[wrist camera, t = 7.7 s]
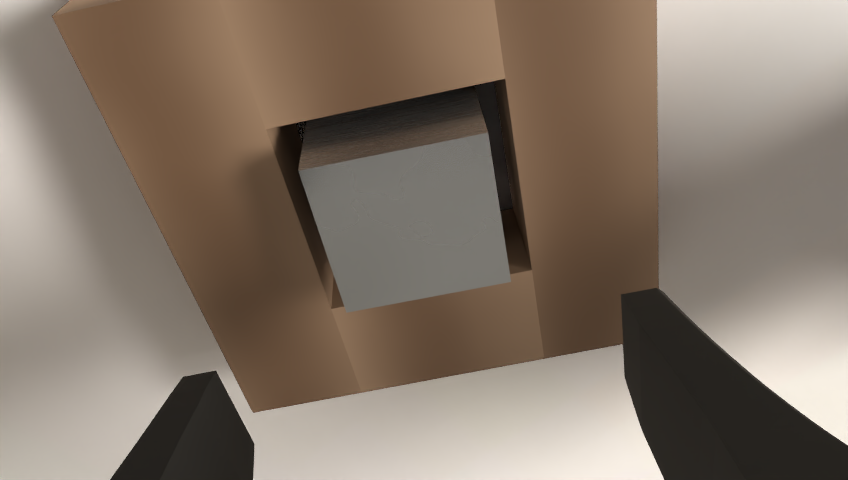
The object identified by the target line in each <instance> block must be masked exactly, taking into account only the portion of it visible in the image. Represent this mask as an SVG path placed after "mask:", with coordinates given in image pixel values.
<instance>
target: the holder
mask: <svg viewBox="0 0 848 480" xmlns="http://www.w3.org/2000/svg"><path fill="white" fill-rule="evenodd" d="M52 17H53V19H54V21H55V23H56V25H57V27H58V29H59V31H60V33H61V35H62V37H63V39H64V41H65V43H66V45H67V47H68V49H69V51H70V53H71V55H72V57H73V59H74V61H75V63H76V65H77V67H78V69H79V71H80V73H81V74H82V76H83V78H84V80H85V82H86V84H87V86H88V88H89V90H90V92H91V94H92V96H93V98H94V100H95V102H96V104H97V106H98V108H99V110H100V112H101V114H102V116H103V118H104V120H105V122H106V124H107V126H108V128H109V130H110V132H111V134H112V136H113V138H114V140H115V142H116V144H117V146H118V147H119V149H120V151H121V153H122V155H123V157H124V159H125V161H126V163H127V165H128V167H129V169H130V171H131V173H132V175H133V177H134V179H135V181H136V183H137V185H138V187H139V189H140V191H141V193H142V195H143V197H144V199H145V201H146V203H147V205H148V207H149V209H150V211H151V213H152V215H153V217H154V218H155V220H156V222H157V224H158V226H159V228H160V230H161V232H162V234H163V236H164V238H165V240H166V242H167V244H168V246H169V248H170V250H171V252H172V254H173V256H174V258H175V260H176V262H177V264H178V266H179V268H180V270H181V272H182V274H183V276H184V278H185V280H186V282H187V284H188V286H189V288H190V289H191V291H192V293H193V295H194V297H195V299H196V301H197V303H198V305H199V307H200V309H201V311H202V313H203V315H204V317H205V319H206V321H207V323H208V325H209V327H210V329H211V331H212V333H213V335H214V337H215V339H216V341H217V343H218V345H219V347H220V349H221V351H222V353H223V355H224V357H225V359H226V361H227V362H228V364H229V366H230V368H231V370H232V372H233V374H234V376H235V378H236V380H237V382H238V384H239V386H240V388H241V390H242V392H243V394H244V396H245V398H246V400H247V402H248V404H249V406H250V408H251V410H252V412H253V413H254V412H259V411H265V410H270V409H276V408H281V407H286V406H292V405H297V404H303V403H308V402H313V401H319V400H324V399H329V398H335V397H340V396H346V395H351V394H356V393H362V392H367V391H373V390H378V389H383V388H389V387H394V386H399V385H405V384H410V383H416V382H421V381H426V380H432V379H437V378H442V377H448V376H453V375H459V374H464V373H469V372H475V371H480V370H486V369H491V368H496V367H502V366H507V365H512V364H518V363H523V362H529V361H534V360H539V359H545V358H550V357H555V356H561V355H566V354H572V353H577V352H582V351H588V350H593V349H599V348H604V347H609V346H615V345H620V344H623V330H622V309H621V294H626V293H631V292H637V291H642V290H647V289H653V288H658V289H659V282H658V137H657V0H70V1H69V2H68V3H66V4H65V5H64V6H63V7H62V8H61V9H59V10H58V11H57V12H56V13H55V14H54V15H53V16H52ZM492 81H494V84H495V91H496V97H497V104H498V111H499V117H500V124H501V131H502V137H503V144H504V151H505V158H506V164H507V171H508V178H509V184H510V191H511V198H512V204H513V209H508V210H503V211H500V213H501V219H502V226H503V232H504V239H505V245H506V252H507V258H508V265H509V271H510V278H511V282H508V283H503V284H497V285H492V286H486V287H481V288H476V289H470V290H465V291H460V292H454V293H449V294H444V295H438V296H433V297H428V298H422V299H417V300H412V301H406V302H401V303H396V304H390V305H385V306H380V307H374V308H369V309H364V310H358V311H353V312H348V313H346V310H345V307H344V304H343V301H342V298H341V295H340V292H339V289H338V286H337V283H336V280H335V277H334V275H333V272H332V269H331V266H330V263H329V260H328V257H327V254H326V251H325V248H324V245H323V242H322V239H321V236H320V233H319V231H318V228H317V225H316V222H315V219H314V216H313V213H312V210H311V207H310V204H309V201H308V198H307V195H306V192H305V189H304V186H303V184H302V181H301V178H300V175H299V172H298V169H299V163H300V157H301V151H302V142H301V139H300V136H299V133H298V130H297V127H296V124H295V123H298V122H302V121H307V120H312V119H317V118H321V117H326V116H331V115H336V114H340V113H345V112H350V111H355V110H359V109H364V108H369V107H373V106H378V105H383V104H388V103H392V102H397V101H402V100H407V99H411V98H416V97H421V96H425V95H430V94H435V93H440V92H444V91H449V90H454V89H459V88H463V87H468V86H473V85H477V84H482V83H487V82H492Z"/></svg>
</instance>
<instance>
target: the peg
mask: <svg viewBox="0 0 848 480" xmlns="http://www.w3.org/2000/svg"><path fill="white" fill-rule="evenodd" d="M298 172H299V175H300V178H301V181H302V184H303V186H304V189H305V192H306V195H307V198H308V201H309V204H310V207H311V210H312V213H313V216H314V219H315V222H316V225H317V228H318V231H319V233H320V236H321V239H322V242H323V245H324V248H325V251H326V254H327V257H328V260H329V263H330V266H331V269H332V272H333V275H334V277H335V280H336V283H337V286H338V289H339V292H340V295H341V298H342V301H343V304H344V307H345V310H346V313H348V312H353V311H358V310H364V309H369V308H374V307H380V306H385V305H390V304H396V303H401V302H406V301H412V300H417V299H422V298H428V297H433V296H438V295H444V294H449V293H454V292H460V291H465V290H470V289H476V288H481V287H486V286H492V285H497V284H503V283H508V282H511V278H510V271H509V265H508V258H507V252H506V245H505V239H504V232H503V226H502V219H501V213H500V207H499V200H498V194H497V187H496V181H495V174H494V168H493V161H492V155H491V148H490V142H489V135H488V131H487V127H486V124H485V120H484V117H483V114H482V110H481V107H480V104H479V100H478V97H477V94H476V90H475V87H474V85H473V86H468V87H463V88H459V89H454V90H449V91H444V92H440V93H435V94H430V95H425V96H421V97H416V98H411V99H407V100H402V101H397V102H392V103H388V104H383V105H378V106H373V107H369V108H364V109H359V110H355V111H350V112H345V113H340V114H336V115H331V116H326V117H321V118H317V119H312V120H307V121H306V127H305V133H304V139H303V145H302V151H301V157H300V163H299V169H298Z"/></svg>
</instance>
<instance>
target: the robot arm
mask: <svg viewBox="0 0 848 480" xmlns="http://www.w3.org/2000/svg"><path fill="white" fill-rule="evenodd" d="M621 309H622V330H623V351H624V372H625V379H626V383H627V386H628V389H629V392H630V395H631V398H632V401H633V405H634V408H635V411H636V414H637V417H638V420H639V423H640V426H641V429H642V431H643V433H644V436H645V438H646V440H647V442H648V445H649V447H650V449H651V451H652V453H653V456H654V458H655V460H656V462H657V464H658V467H659V469H660V471H661V473H662V475H663V477H664V480H848V445H846V444H845V443H843V442H842V441H840V440H839V439H837V438H836V437H834V436H833V435H831V434H830V433H828V432H827V431H825V430H824V429H823V428H821V427H820V426H818V425H817V424H816V423H814V422H813V421H811V420H810V419H809V418H807V417H806V416H805V415H803V414H802V413H800V412H799V411H798V410H796V409H795V408H794V407H792V406H791V405H790V404H789V403H787V402H786V401H785V400H783V399H782V398H781V397H779V396H778V395H777V394H776V393H774V392H773V391H772V390H770V389H769V388H768V387H767V386H765V385H764V384H763V383H762V382H760V381H759V380H758V379H757V378H756V377H754V376H753V375H752V374H751V373H750V372H748V371H747V370H746V369H745V368H744V367H743V366H741V365H740V364H739V363H738V362H737V361H736V360H734V359H733V358H732V357H731V356H730V355H729V354H727V353H726V352H725V351H724V350H723V349H722V348H721V347H720V346H718V345H717V344H716V343H715V342H714V341H713V340H712V339H711V338H710V337H709V336H707V335H706V334H705V333H704V332H703V331H702V330H701V329H700V328H699V327H698V326H697V325H696V324H695V323H694V322H693V321H692V320H691V319H690V318H688V317H687V316H686V315H685V314H684V313H683V312H682V311H681V310H680V309H679V308H678V307H677V306H676V305H675V304H674V303H673V302H672V301H671V300H670V299H669V298H668V297H667V296H666V294H665V293H664V292H662V291H661V290H659V289H658V288H653V289H647V290H642V291H637V292H631V293H626V294H621ZM253 467H254V443H253V441H252V439H251V437H250V435H249V433H248V431H247V429H246V427H245V425H244V423H243V422H242V420H241V418H240V416H239V414H238V412H237V410H236V408H235V406H234V404H233V403H232V401H231V399H230V397H229V395H228V393H227V391H226V389H225V387H224V385H223V383H222V382H221V380H220V378H219V376H218V374H217V372H216V371H212V372H206V373H201V374H196V375H191V376H185V377H183V378H182V379H181V380H180V382H179V383H178V385H177V386H176V387H175V389H174V390H173V392H172V393H171V394H170V396H169V397H168V399H167V400H166V402H165V403H164V404H163V406H162V407H161V409H160V410H159V412H158V413H157V414H156V416H155V417H154V419H153V420H152V422H151V423H150V425H149V426H148V427H147V429H146V430H145V432H144V433H143V435H142V436H141V437H140V439H139V440H138V442H137V443H136V444H135V446H134V447H133V449H132V450H131V451H130V453H129V454H128V456H127V457H126V458H125V460H124V461H123V463H122V464H121V465H120V467H119V468H118V469H117V471H116V472H115V474H114V475H113V476H112V478H111V479H110V480H253Z"/></svg>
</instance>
